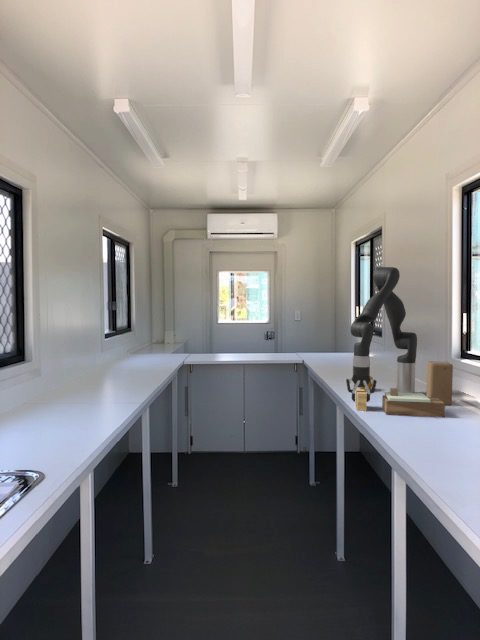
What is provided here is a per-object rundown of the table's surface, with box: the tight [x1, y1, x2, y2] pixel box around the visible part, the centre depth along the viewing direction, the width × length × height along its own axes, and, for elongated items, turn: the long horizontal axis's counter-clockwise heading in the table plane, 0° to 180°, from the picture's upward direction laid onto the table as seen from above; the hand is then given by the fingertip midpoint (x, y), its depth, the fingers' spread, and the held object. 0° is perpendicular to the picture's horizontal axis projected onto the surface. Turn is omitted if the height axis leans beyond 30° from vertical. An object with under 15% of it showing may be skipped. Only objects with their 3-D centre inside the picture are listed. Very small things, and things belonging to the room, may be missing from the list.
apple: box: [358, 375, 374, 392], centre depth 249 cm, size 8×8×9 cm
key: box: [354, 388, 368, 412], centre depth 208 cm, size 9×4×8 cm, turn 171°
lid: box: [384, 387, 430, 402], centre depth 201 cm, size 13×17×4 cm
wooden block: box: [425, 360, 454, 406], centre depth 219 cm, size 10×10×20 cm
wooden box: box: [381, 394, 446, 418], centre depth 200 cm, size 12×24×6 cm, turn 81°
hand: (360, 401), depth 208 cm, fingers open, 5 cm apart
